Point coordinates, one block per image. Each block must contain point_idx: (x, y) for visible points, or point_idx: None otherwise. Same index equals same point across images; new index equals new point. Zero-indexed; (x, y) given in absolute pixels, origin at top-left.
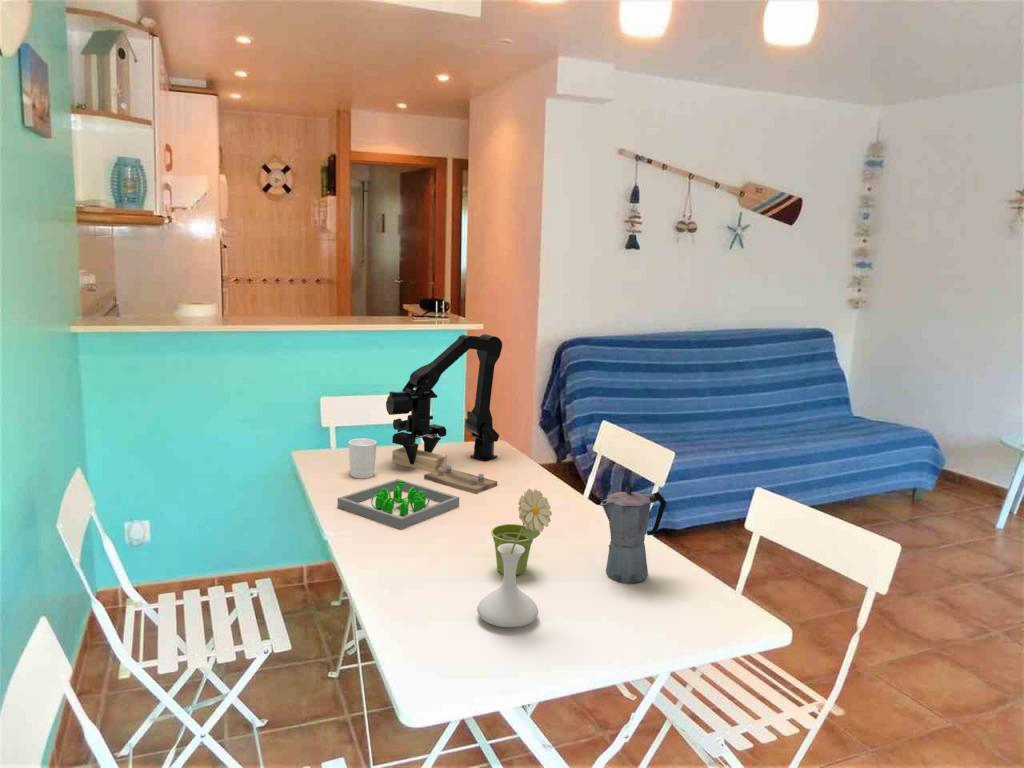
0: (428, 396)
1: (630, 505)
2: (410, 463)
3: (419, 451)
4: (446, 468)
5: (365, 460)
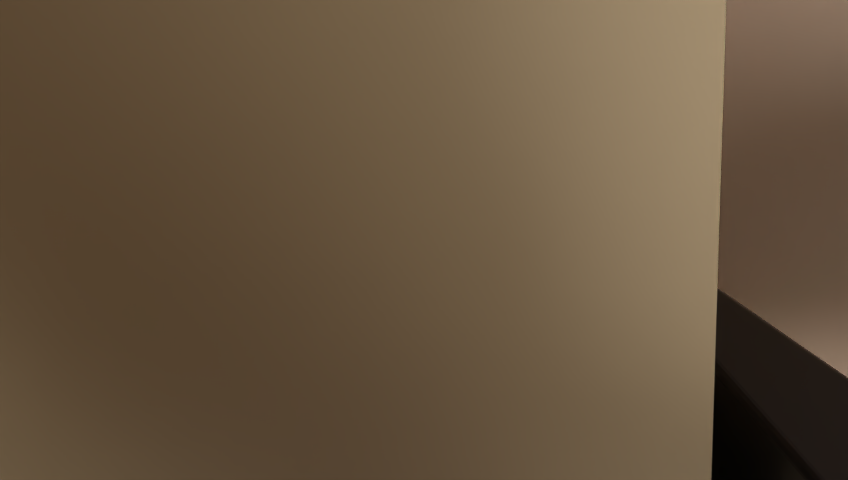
0: None
1: None
2: None
3: (528, 406)
4: None
5: None
